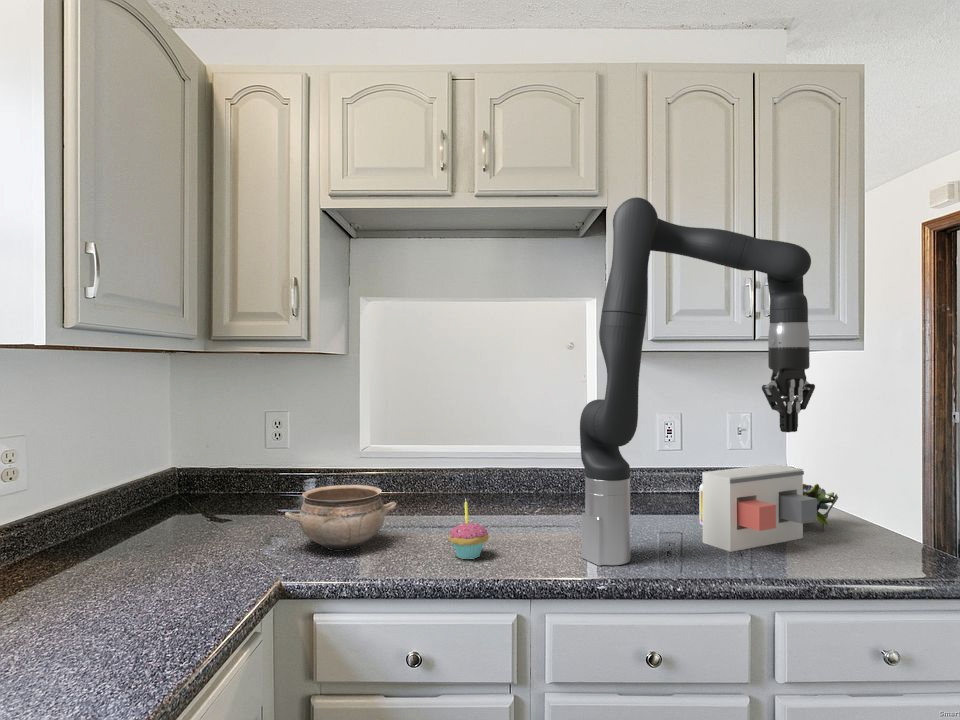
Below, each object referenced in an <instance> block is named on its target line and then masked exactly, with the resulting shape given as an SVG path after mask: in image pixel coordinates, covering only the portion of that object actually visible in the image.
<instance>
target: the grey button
mask: <svg viewBox="0 0 960 720" xmlns="http://www.w3.org/2000/svg"><path fill="white" fill-rule="evenodd" d="M779 518H781V519H785V520H789V521H793V522H797V523H801V524H803V525H804V524H809V523H813V522H817V521H818V520H817V499H816V498H812V497H807V496H802V495H798V494H787V495H780V496H779Z"/></svg>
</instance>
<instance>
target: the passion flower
mask: <svg viewBox="0 0 960 720" xmlns="http://www.w3.org/2000/svg"><path fill="white" fill-rule="evenodd" d="M803 496H807V497H812V498H816V499H817V521H818V522H819V523H822V532H825V528H826V526H827V525H828V521H827V520H828V517H829V513H830V512H831V509H833V506H834V505H835V504H836V502H837V501H838V499H839V496H838V494H837V493H834V492H833V491H832V492H829V493H828V492H826V489H824V488H821V487H820V485H819V483H816V484H814V485H811V484H806V483H803ZM826 496H827V497H826ZM827 504H830V507H829V506H828V505H827ZM819 510H827V511H826V512H825V513H824V514H823V513H821V512H820V511H819Z"/></svg>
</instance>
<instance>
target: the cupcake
mask: <svg viewBox="0 0 960 720" xmlns="http://www.w3.org/2000/svg"><path fill="white" fill-rule="evenodd" d="M464 500H465V502H464V513H465V514H464V517H465V522H464V523H463V522H462V523H459V524H457V525H455V526H453V528H452V529H450V531H449V535H448V540H449V541H450V542H451V543H452V545H453V547H454V551H455V554H456V557H457V556H458V557H460V558H465V559H470V558H477V557H479V558H480V556H481V553H482V548H483V546H484V543H487V541H489V534H490V533H489V531H488V529H487V528H485V526H483V525H481V524H480V523H474V522H469V521H470V520H469V507H468V506H469V505H468V502H467V498H464ZM458 557H457V558H458ZM477 559H478V558H477Z"/></svg>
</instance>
